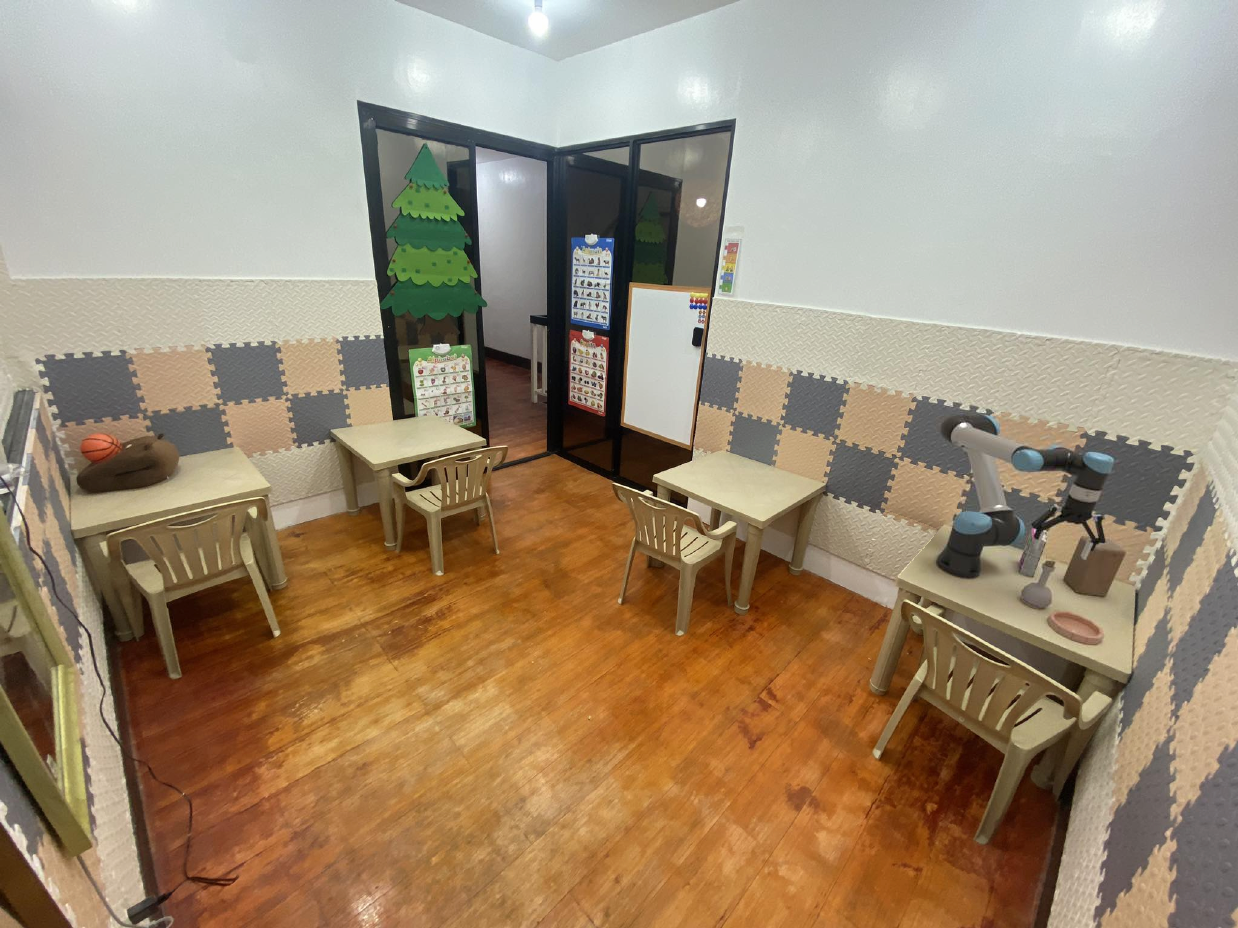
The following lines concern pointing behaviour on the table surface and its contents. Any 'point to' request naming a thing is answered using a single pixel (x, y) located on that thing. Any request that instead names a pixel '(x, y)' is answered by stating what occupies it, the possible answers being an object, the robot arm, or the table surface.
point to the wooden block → (1094, 567)
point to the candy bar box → (1031, 555)
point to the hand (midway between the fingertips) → (1058, 552)
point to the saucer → (1076, 627)
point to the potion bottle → (1039, 589)
